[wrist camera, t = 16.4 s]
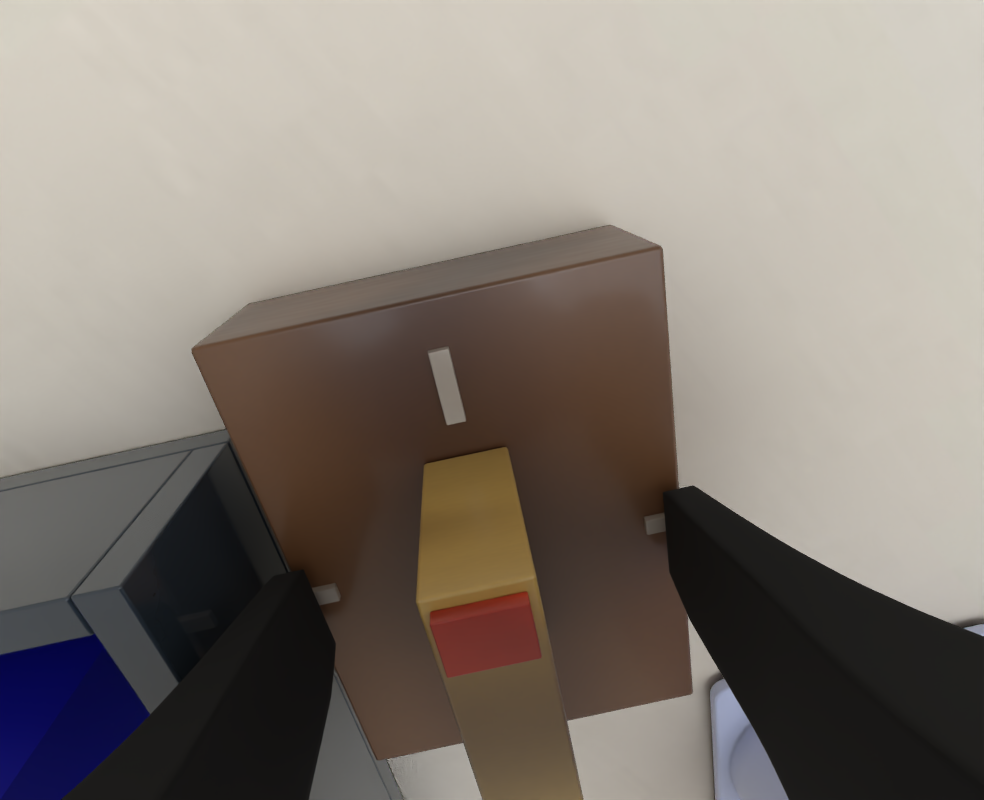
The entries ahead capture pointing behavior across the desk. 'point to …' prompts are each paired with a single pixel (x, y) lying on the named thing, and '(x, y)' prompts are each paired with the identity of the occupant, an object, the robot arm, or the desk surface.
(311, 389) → the block
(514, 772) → the yellow box red patch
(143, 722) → the robot arm
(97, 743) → the cable clip
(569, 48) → the desk surface
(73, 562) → the grey open box
